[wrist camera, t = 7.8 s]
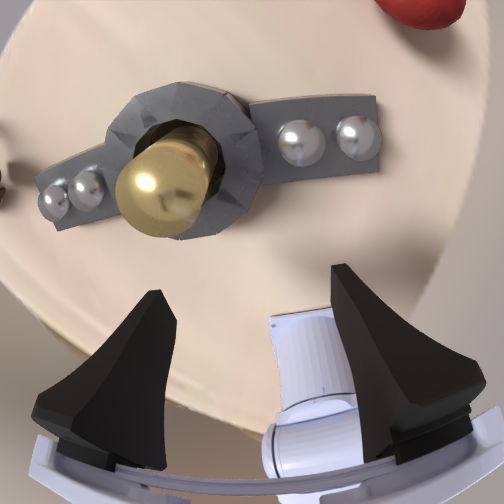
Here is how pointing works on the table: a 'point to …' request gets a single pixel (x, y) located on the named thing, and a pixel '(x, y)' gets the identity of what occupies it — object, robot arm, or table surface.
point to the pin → (167, 182)
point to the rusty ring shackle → (1, 189)
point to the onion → (424, 12)
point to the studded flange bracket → (233, 147)
